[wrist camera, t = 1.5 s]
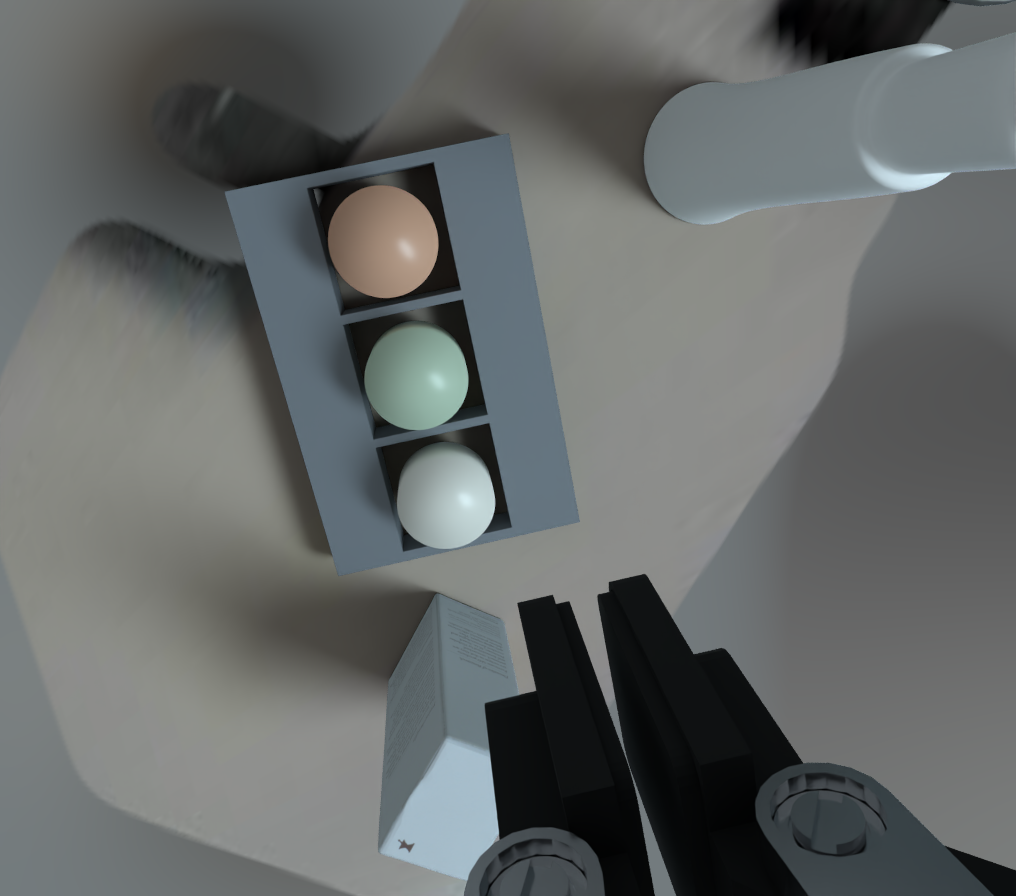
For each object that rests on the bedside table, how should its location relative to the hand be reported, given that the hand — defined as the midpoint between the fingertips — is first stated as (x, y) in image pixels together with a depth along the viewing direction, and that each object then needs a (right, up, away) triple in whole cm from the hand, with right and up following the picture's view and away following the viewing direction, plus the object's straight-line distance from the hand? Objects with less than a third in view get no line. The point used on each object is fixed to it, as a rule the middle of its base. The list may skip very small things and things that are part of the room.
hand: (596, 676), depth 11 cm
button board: (-6, +7, +26) cm, 27 cm away
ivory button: (-4, +2, +26) cm, 26 cm away
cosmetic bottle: (+8, +17, +24) cm, 31 cm away
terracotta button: (-7, +12, +22) cm, 26 cm away
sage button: (-5, +7, +24) cm, 26 cm away
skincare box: (-5, -7, +31) cm, 32 cm away
